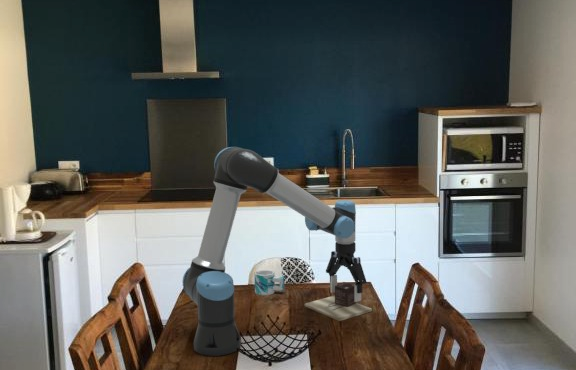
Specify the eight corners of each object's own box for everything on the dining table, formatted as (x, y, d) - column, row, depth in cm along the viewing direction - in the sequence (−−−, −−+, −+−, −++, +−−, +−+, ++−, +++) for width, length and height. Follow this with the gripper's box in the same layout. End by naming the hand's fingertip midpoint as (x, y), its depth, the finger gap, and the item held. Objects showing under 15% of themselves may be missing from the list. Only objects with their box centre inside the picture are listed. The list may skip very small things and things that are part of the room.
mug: (259, 288, 252) (258, 269, 251) (286, 290, 248) (286, 270, 247) (252, 294, 244) (252, 274, 243) (280, 296, 241) (280, 276, 239)
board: (339, 321, 213) (339, 318, 213) (304, 306, 229) (304, 303, 229) (371, 311, 223) (371, 308, 222) (336, 297, 239) (336, 294, 238)
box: (343, 300, 232) (343, 281, 231) (356, 303, 228) (356, 284, 227) (334, 304, 228) (334, 285, 227) (347, 307, 224) (347, 288, 223)
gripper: (376, 246, 217) (376, 302, 220) (331, 234, 237) (331, 286, 240) (361, 249, 212) (361, 307, 216) (316, 237, 232) (317, 290, 235)
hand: (345, 296), depth 228 cm, fingers open, 13 cm apart
